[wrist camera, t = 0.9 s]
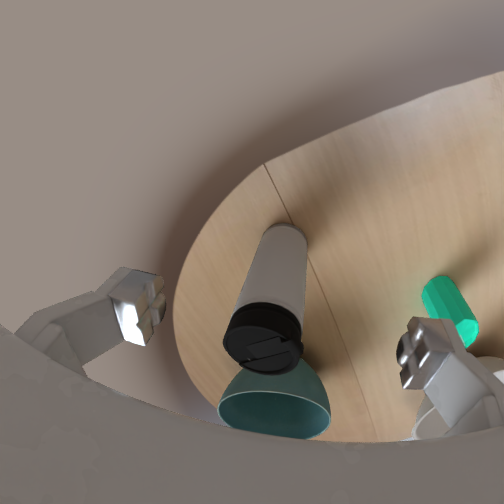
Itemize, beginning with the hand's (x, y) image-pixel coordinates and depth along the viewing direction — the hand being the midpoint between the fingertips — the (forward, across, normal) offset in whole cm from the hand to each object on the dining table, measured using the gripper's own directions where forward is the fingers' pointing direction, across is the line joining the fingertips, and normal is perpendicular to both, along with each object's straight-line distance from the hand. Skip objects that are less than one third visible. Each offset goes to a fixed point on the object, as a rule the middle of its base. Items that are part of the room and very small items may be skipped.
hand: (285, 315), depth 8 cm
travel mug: (+28, +1, +11) cm, 30 cm away
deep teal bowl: (+27, -2, +36) cm, 45 cm away
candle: (+27, -24, +15) cm, 40 cm away
